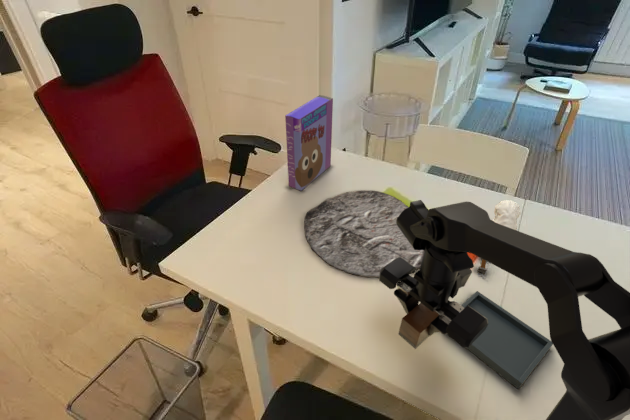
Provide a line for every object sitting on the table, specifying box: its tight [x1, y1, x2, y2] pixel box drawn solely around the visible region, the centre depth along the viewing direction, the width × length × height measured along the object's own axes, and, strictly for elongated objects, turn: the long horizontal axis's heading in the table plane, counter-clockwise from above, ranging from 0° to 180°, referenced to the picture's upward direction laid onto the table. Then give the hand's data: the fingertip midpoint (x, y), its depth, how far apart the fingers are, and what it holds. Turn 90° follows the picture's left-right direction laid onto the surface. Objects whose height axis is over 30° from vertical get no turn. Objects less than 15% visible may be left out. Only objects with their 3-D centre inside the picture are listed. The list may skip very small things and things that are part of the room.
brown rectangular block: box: [397, 302, 439, 350], centre depth 69 cm, size 4×8×5 cm, turn 130°
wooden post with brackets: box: [477, 258, 488, 274], centre depth 91 cm, size 2×8×4 cm, turn 155°
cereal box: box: [284, 94, 334, 192], centre depth 114 cm, size 17×5×24 cm, turn 147°
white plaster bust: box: [491, 199, 522, 231], centre depth 97 cm, size 6×8×12 cm
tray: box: [460, 290, 554, 390], centre depth 75 cm, size 17×13×2 cm
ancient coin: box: [303, 189, 425, 278], centre depth 100 cm, size 33×35×1 cm
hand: (421, 326), depth 69 cm, fingers closed on brown rectangular block, 4 cm apart
